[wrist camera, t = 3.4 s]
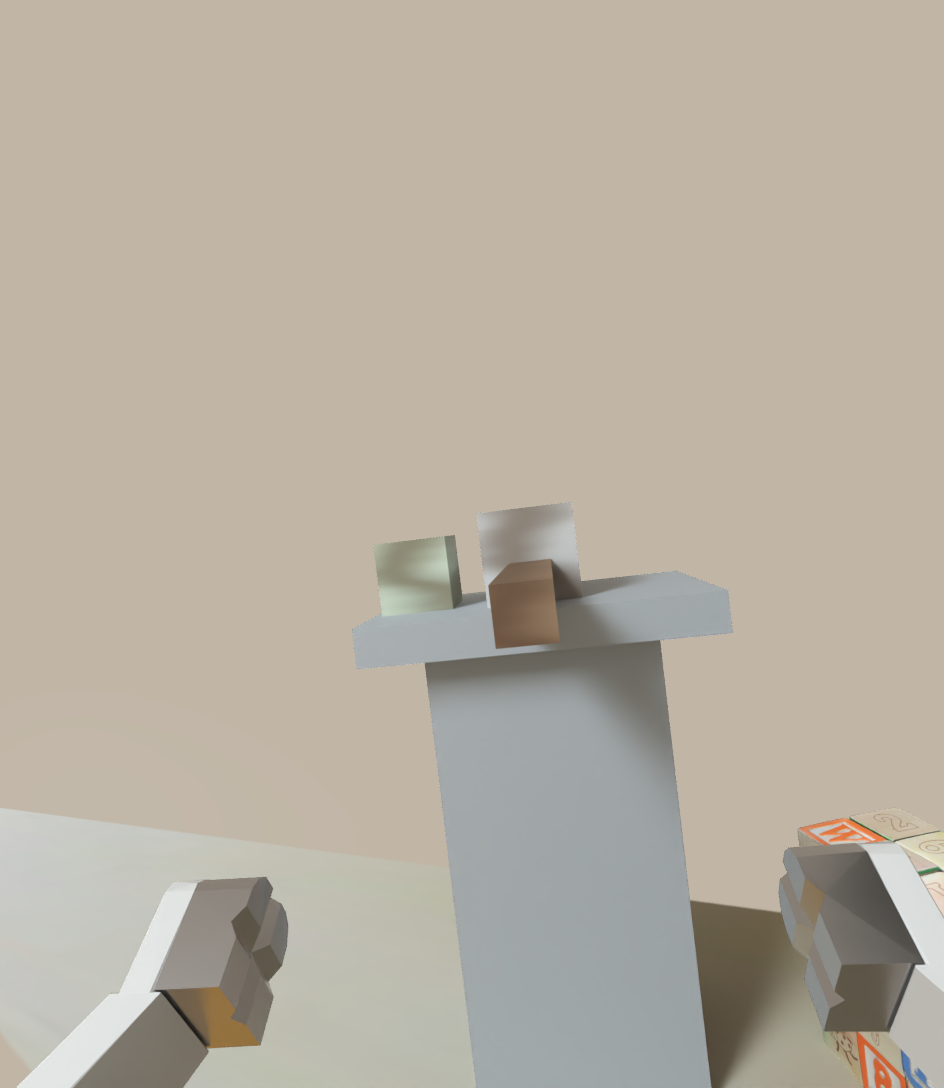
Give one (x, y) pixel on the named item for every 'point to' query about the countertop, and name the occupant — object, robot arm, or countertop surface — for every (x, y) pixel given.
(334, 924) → the countertop surface
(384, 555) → the sage cube
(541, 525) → the steel-headed mallet
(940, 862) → the stack of blocks
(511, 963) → the grey pedestal
